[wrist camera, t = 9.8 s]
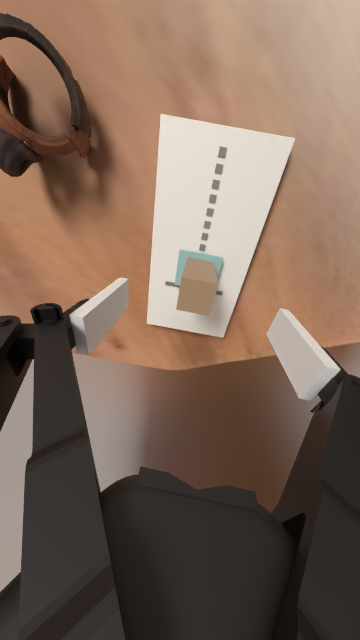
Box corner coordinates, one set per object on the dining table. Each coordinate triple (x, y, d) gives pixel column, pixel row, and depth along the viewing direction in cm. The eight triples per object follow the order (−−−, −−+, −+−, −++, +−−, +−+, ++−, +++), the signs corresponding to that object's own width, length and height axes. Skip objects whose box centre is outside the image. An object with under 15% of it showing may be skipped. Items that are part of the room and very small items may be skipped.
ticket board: (288, 143, 19) (295, 137, 18) (222, 333, 33) (223, 338, 31) (163, 120, 19) (160, 113, 18) (148, 319, 33) (146, 323, 31)
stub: (222, 257, 24) (234, 278, 16) (213, 290, 27) (219, 324, 18) (180, 249, 24) (169, 266, 16) (174, 283, 27) (163, 313, 19)
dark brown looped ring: (6, 26, 17) (-36, -71, 11) (102, 121, 23) (109, 91, 17) (-23, 153, 20) (-70, 131, 14) (68, 208, 26) (63, 210, 20)
